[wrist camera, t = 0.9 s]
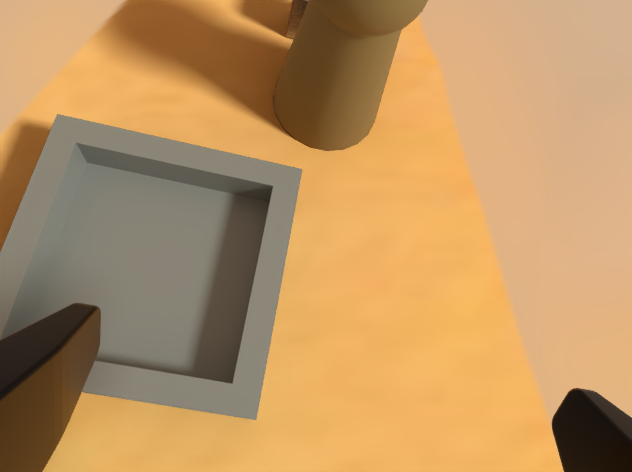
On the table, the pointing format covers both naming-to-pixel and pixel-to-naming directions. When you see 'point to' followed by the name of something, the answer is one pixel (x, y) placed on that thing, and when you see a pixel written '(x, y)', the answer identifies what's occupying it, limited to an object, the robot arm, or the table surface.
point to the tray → (155, 261)
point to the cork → (339, 69)
